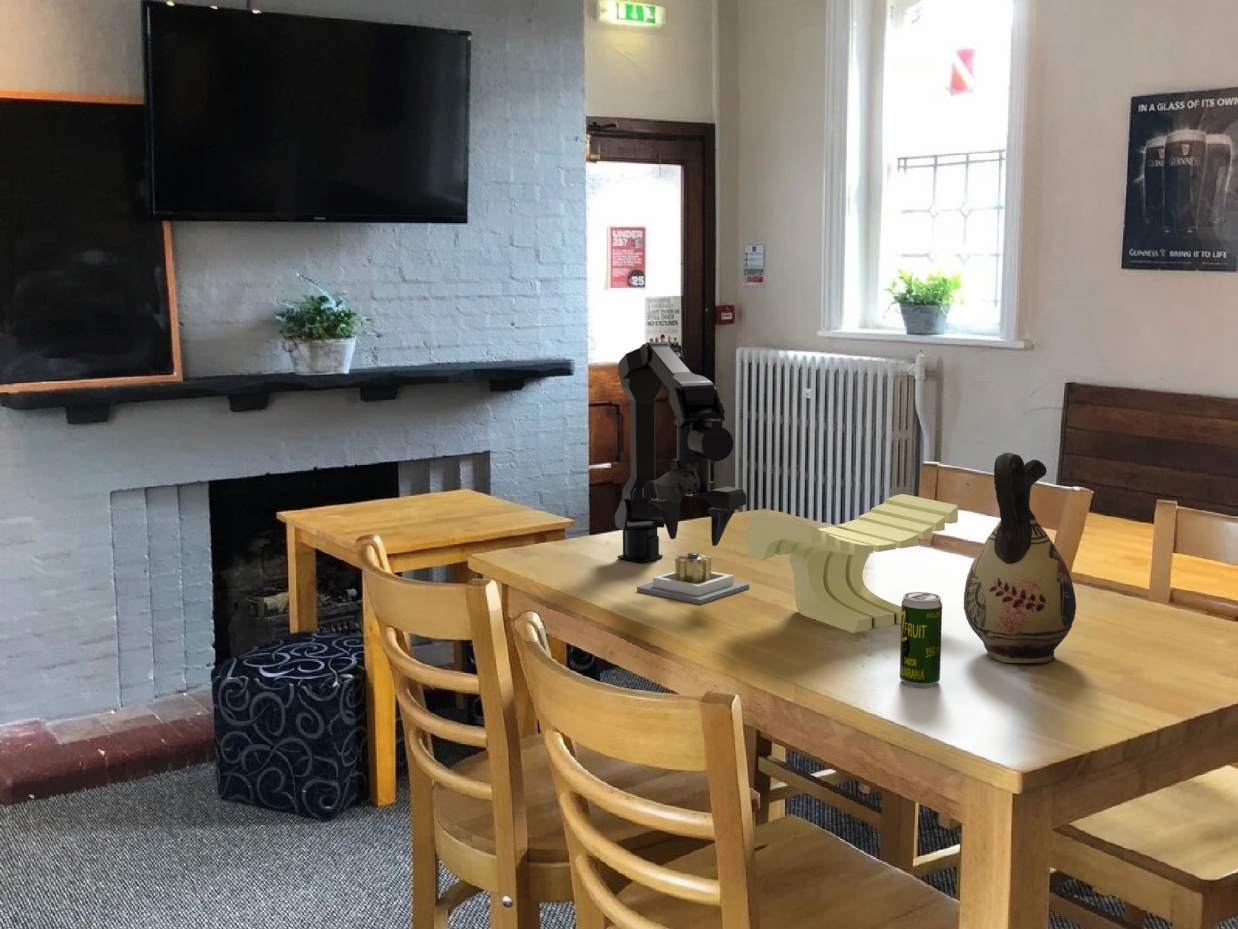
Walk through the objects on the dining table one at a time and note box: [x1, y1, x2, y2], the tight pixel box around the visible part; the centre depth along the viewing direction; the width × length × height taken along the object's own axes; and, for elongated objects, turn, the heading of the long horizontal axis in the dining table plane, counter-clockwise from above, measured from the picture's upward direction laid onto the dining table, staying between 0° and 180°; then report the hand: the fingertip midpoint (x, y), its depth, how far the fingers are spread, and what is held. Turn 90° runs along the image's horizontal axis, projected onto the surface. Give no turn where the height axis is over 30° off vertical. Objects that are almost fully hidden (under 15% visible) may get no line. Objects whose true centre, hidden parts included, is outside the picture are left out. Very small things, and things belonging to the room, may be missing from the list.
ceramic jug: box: [963, 452, 1077, 664], centre depth 186 cm, size 17×15×30 cm
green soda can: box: [899, 591, 943, 688], centre depth 177 cm, size 5×5×12 cm
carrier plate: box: [636, 571, 750, 605], centre depth 229 cm, size 14×14×2 cm
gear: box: [674, 552, 712, 584], centre depth 228 cm, size 6×6×6 cm
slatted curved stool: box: [747, 493, 959, 634], centre depth 210 cm, size 30×16×18 cm, turn 121°
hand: (693, 542), depth 227 cm, fingers open, 9 cm apart
